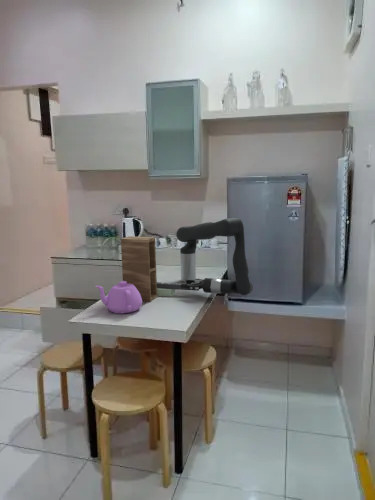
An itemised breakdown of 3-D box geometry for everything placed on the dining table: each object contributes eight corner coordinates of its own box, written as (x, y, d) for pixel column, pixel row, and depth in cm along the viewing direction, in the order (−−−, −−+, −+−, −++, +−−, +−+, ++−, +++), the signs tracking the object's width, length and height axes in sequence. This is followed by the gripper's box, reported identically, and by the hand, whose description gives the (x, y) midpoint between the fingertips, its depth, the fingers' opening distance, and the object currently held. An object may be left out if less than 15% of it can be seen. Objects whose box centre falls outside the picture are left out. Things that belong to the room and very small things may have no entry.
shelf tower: (131, 294, 211) (128, 236, 205) (157, 297, 206) (155, 237, 200) (123, 299, 202) (120, 238, 197) (150, 302, 197) (147, 239, 192)
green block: (148, 291, 218) (148, 284, 217) (175, 293, 212) (175, 286, 212) (143, 294, 211) (143, 288, 210) (171, 296, 206) (171, 290, 205)
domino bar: (150, 286, 214) (149, 281, 214) (191, 289, 207) (191, 284, 206) (148, 287, 212) (147, 282, 211) (190, 290, 204) (190, 285, 204)
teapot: (92, 306, 192) (90, 279, 189) (135, 300, 200) (134, 274, 198) (101, 321, 172) (99, 290, 169) (148, 313, 180) (147, 284, 178)
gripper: (216, 275, 207) (187, 273, 212) (209, 282, 194) (178, 280, 199) (216, 289, 208) (188, 287, 213) (209, 296, 195) (179, 294, 200)
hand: (183, 283), depth 206 cm, fingers open, 8 cm apart
